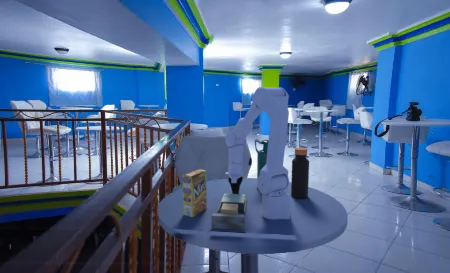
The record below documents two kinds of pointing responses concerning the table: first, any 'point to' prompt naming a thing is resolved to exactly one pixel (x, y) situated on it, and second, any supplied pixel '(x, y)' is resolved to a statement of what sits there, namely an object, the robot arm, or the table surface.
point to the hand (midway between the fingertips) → (235, 195)
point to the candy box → (194, 192)
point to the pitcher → (261, 156)
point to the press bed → (228, 220)
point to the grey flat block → (234, 200)
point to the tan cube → (229, 208)
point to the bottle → (300, 174)
